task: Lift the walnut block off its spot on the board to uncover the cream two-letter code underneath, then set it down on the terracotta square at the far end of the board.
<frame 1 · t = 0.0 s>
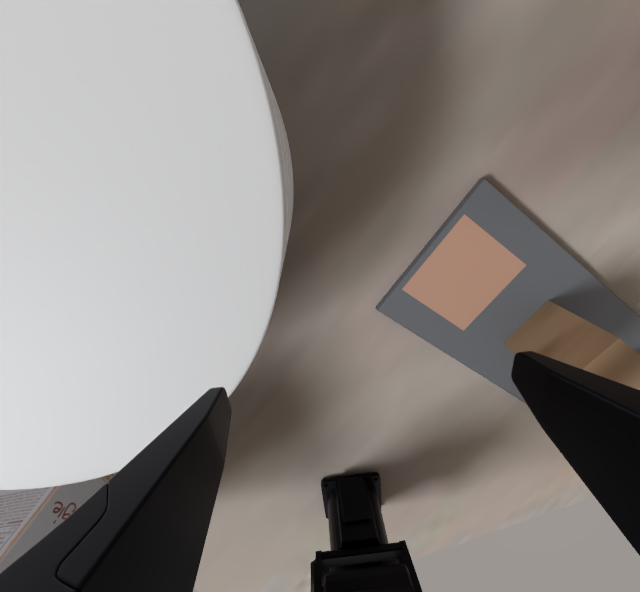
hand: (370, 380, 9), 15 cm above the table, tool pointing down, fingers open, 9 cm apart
walnut block: (543, 335, 26), point 1 cm above the table, touching code board
cracker box: (117, 469, 31), on the table
plate stack: (87, 184, 20), on the table
code board: (538, 332, 26), on the table
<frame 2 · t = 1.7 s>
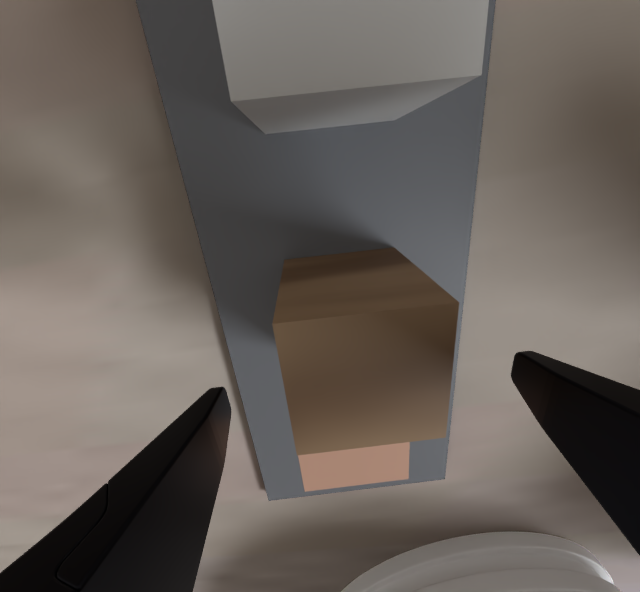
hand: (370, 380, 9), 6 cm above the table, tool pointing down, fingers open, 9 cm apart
walnut block: (343, 303, 14), point 1 cm above the table, touching code board
grey block: (323, 45, 10), point 1 cm above the table, touching code board
code board: (341, 298, 15), on the table
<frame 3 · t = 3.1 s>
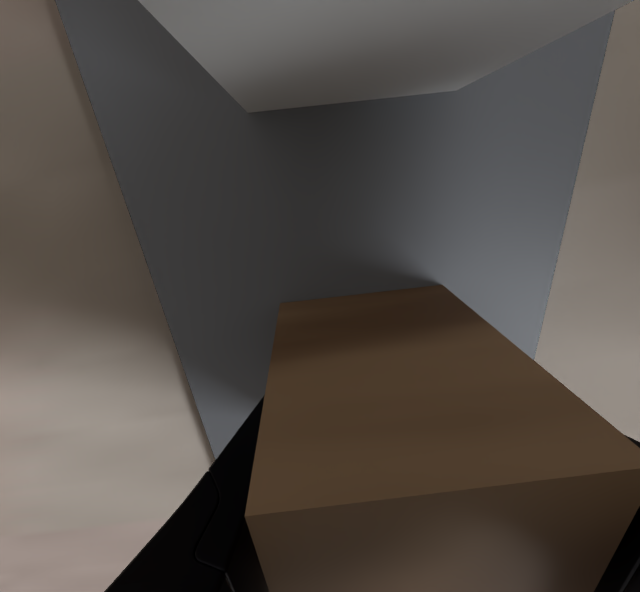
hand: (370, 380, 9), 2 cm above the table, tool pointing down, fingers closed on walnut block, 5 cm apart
walnut block: (364, 361, 10), point 1 cm above the table, touching code board, gripper
code board: (361, 350, 11), on the table
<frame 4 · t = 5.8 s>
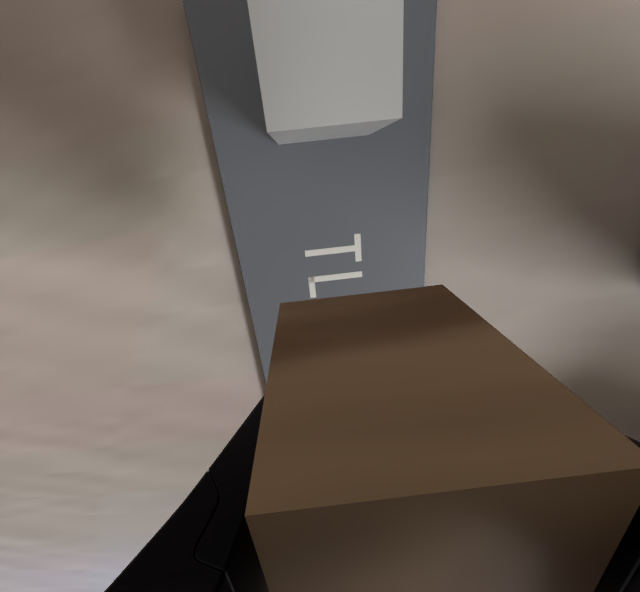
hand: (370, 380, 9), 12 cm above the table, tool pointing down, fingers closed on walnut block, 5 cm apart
walnut block: (364, 361, 10), point 11 cm above the table, touching gripper
grey block: (319, 85, 15), point 1 cm above the table, touching code board
code board: (333, 265, 20), on the table
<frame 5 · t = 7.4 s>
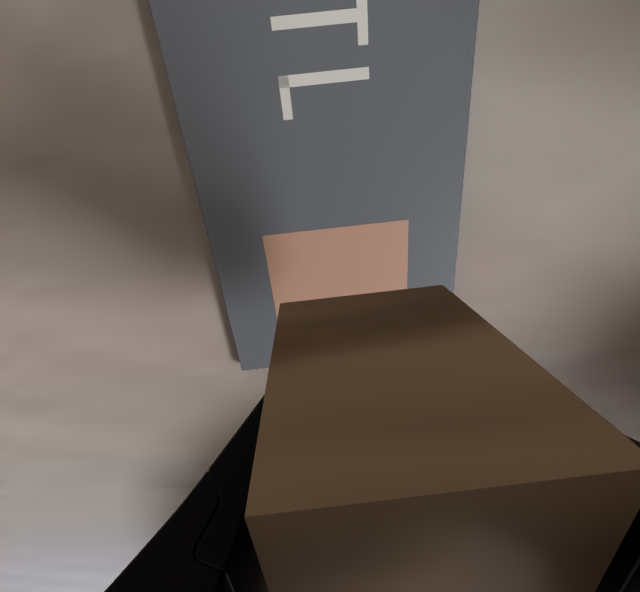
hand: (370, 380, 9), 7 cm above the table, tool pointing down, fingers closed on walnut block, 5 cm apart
walnut block: (364, 361, 10), point 6 cm above the table, touching gripper
code board: (321, 64, 12), on the table
when the fingers open (3 cm above the table, at t = 8.5 s): walnut block drops 2 cm, resting on code board.
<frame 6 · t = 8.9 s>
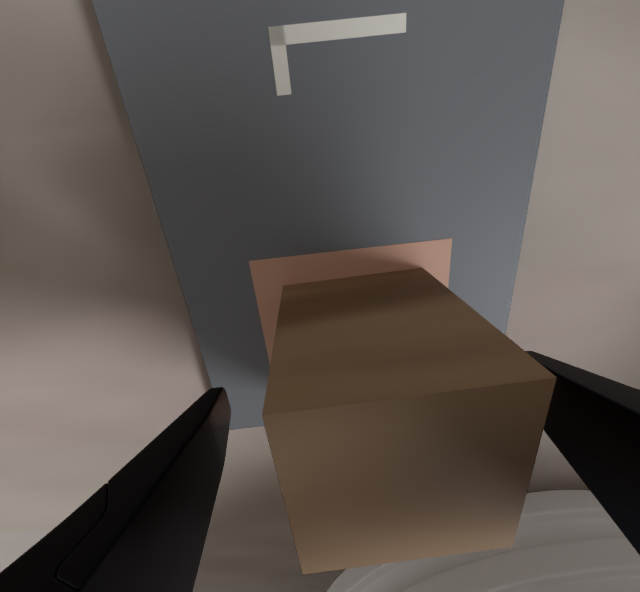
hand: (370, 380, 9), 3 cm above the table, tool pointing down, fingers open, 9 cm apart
walnut block: (357, 336, 11), point 1 cm above the table, touching code board
code board: (333, 11, 8), on the table
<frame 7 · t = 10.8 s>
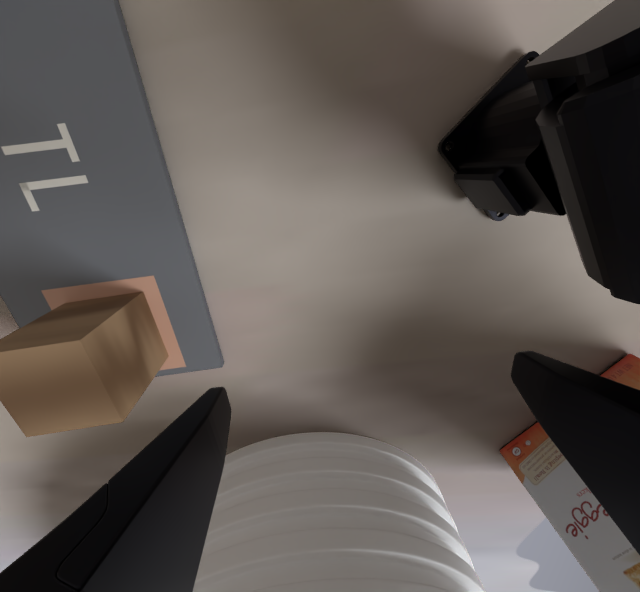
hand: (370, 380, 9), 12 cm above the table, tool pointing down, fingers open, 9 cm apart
walnut block: (119, 331, 20), point 1 cm above the table, touching code board
cracker box: (569, 415, 27), on the table
plate stack: (311, 527, 31), on the table
code board: (57, 171, 17), on the table
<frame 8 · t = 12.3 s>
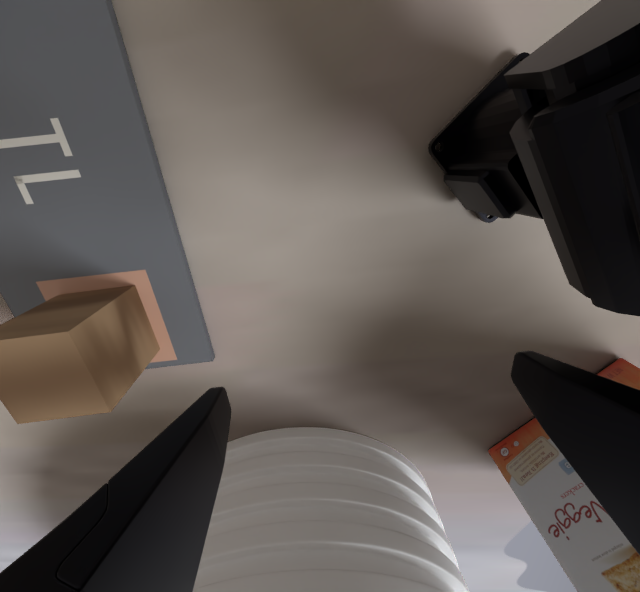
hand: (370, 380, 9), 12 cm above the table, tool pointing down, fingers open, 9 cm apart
walnut block: (112, 323, 20), point 1 cm above the table, touching code board
cracker box: (559, 417, 27), on the table
plate stack: (301, 520, 32), on the table
code board: (50, 165, 17), on the table
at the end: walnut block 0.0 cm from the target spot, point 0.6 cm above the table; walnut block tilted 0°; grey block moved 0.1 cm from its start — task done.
